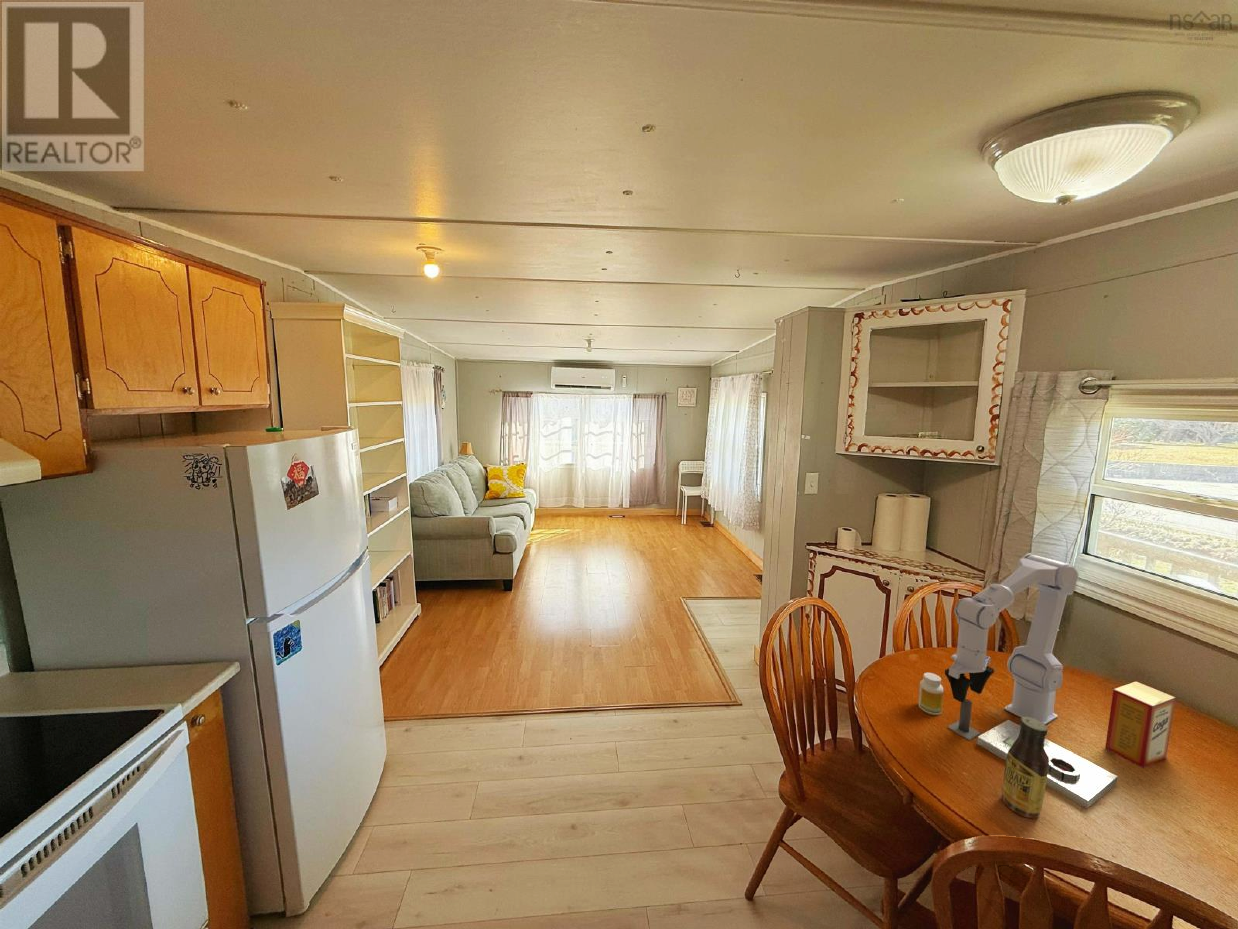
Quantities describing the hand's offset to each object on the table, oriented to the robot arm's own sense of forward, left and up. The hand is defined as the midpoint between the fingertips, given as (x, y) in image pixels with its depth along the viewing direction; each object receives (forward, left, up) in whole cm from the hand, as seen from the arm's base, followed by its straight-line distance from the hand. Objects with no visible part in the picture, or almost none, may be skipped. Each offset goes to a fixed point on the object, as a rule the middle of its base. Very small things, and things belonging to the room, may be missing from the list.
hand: (967, 695), depth 114 cm
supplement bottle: (-1, -9, -10) cm, 14 cm away
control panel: (-5, +14, -10) cm, 18 cm away
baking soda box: (-29, +22, -10) cm, 38 cm away
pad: (-3, +9, -10) cm, 13 cm away
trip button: (-3, +18, -10) cm, 21 cm away
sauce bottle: (+14, +18, -10) cm, 25 cm away
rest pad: (0, 0, -10) cm, 10 cm away
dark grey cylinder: (0, 0, -10) cm, 10 cm away
